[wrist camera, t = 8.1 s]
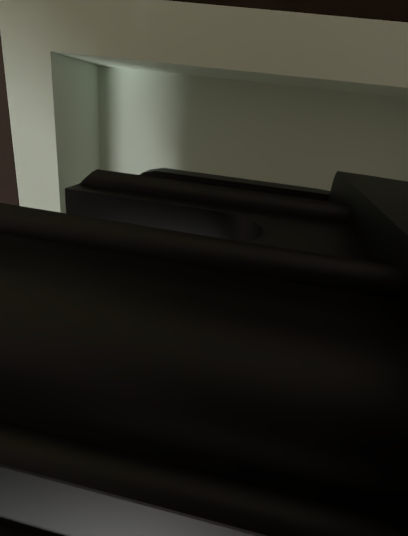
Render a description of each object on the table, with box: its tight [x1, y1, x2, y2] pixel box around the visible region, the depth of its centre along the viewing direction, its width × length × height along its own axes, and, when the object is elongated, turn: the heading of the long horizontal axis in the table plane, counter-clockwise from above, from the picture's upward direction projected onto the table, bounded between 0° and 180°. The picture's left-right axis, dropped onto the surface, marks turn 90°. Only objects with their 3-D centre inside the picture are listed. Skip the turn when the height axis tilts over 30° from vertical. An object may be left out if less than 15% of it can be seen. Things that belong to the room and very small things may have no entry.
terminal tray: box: [0, 0, 408, 213], centre depth 11 cm, size 12×15×3 cm
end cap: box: [0, 168, 408, 536], centre depth 6 cm, size 10×7×7 cm
